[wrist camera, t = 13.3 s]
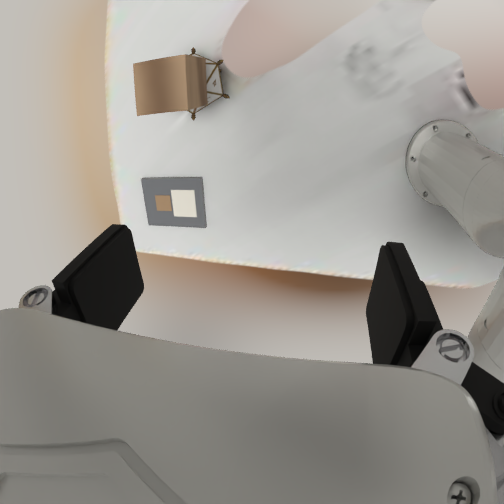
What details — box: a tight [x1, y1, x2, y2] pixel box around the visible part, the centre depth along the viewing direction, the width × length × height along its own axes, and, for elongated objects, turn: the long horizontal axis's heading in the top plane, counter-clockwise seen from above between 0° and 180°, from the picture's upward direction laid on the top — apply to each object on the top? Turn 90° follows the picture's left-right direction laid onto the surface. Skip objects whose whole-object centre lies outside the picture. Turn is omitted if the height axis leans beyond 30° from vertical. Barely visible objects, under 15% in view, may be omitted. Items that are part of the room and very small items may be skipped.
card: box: [141, 177, 206, 228], centre depth 46 cm, size 10×8×1 cm
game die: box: [187, 47, 229, 120], centre depth 33 cm, size 9×8×10 cm
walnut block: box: [133, 55, 208, 116], centre depth 27 cm, size 6×6×6 cm
